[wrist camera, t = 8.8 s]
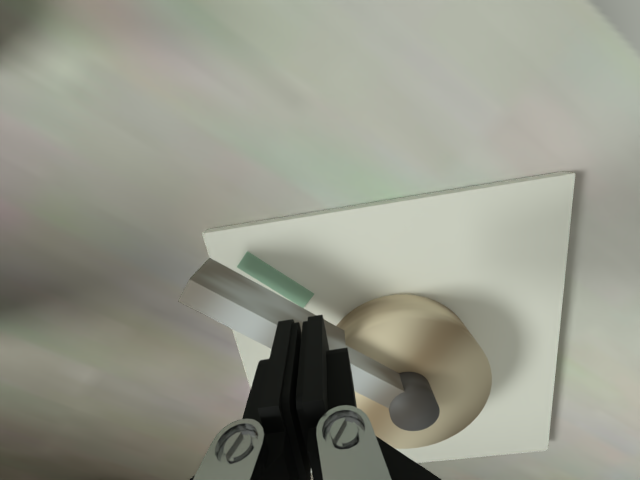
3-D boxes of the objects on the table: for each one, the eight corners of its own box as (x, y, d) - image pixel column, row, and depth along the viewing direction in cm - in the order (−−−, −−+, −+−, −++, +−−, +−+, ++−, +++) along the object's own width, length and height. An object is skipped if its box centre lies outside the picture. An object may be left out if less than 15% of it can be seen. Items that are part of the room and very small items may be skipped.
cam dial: (502, 339, 22) (547, 392, 18) (411, 432, 25) (429, 496, 21) (249, 190, 19) (225, 207, 15) (181, 317, 22) (144, 363, 18)
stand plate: (539, 439, 27) (548, 451, 26) (279, 465, 29) (277, 478, 28) (563, 171, 20) (577, 173, 18) (207, 229, 21) (201, 234, 20)
